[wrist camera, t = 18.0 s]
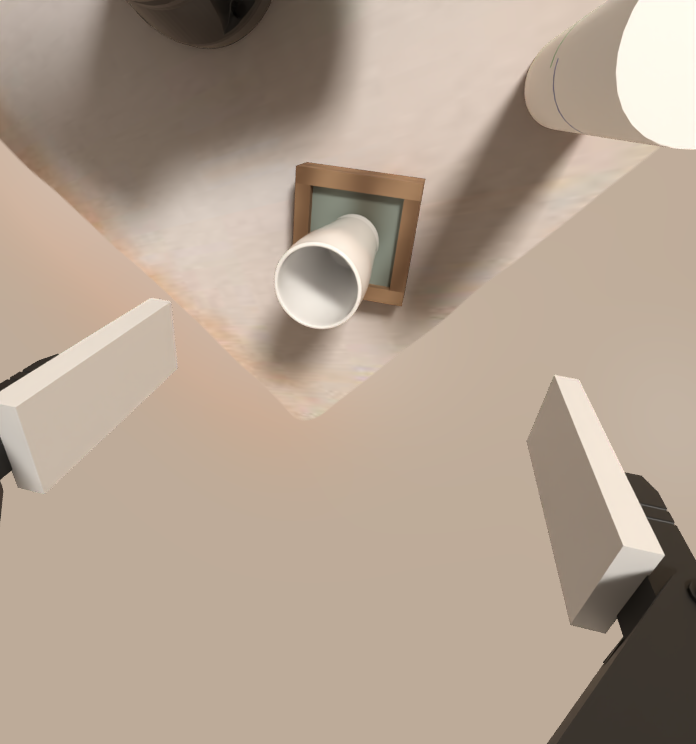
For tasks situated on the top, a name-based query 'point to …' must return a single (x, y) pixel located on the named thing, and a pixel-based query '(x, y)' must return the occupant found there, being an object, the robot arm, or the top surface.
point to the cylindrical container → (621, 74)
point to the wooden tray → (371, 200)
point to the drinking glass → (327, 272)
